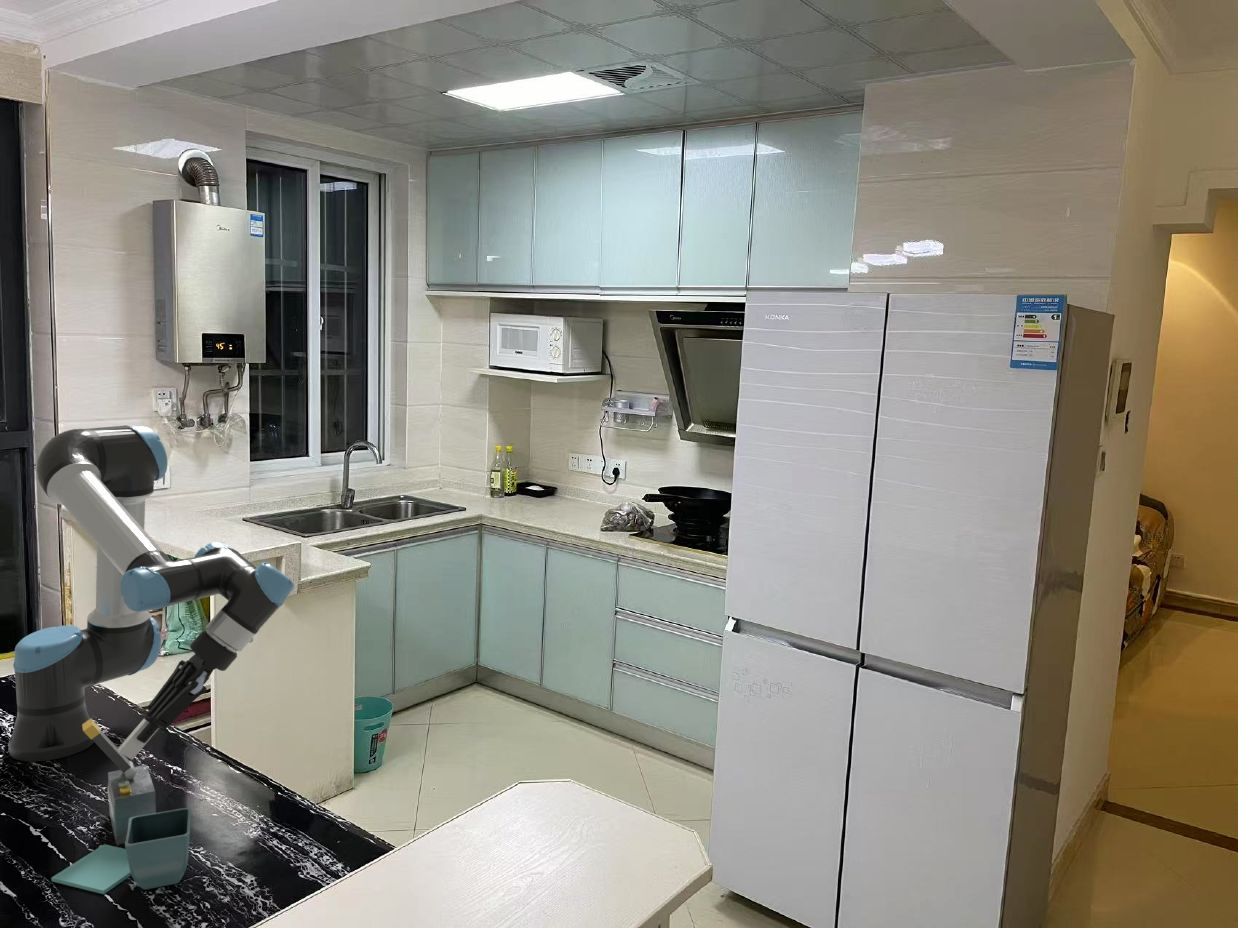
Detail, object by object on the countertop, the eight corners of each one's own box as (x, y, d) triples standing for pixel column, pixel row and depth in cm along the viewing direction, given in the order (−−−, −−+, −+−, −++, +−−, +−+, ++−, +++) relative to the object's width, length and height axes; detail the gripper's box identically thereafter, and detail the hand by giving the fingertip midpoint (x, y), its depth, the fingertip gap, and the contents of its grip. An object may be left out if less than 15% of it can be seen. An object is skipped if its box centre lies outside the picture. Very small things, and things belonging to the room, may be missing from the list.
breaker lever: (134, 765, 162) (90, 717, 157) (137, 774, 158) (92, 725, 153) (126, 771, 161) (81, 723, 156) (129, 781, 158) (83, 732, 153)
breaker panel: (148, 806, 165) (146, 760, 163) (156, 835, 156) (154, 786, 154) (108, 815, 161) (106, 768, 160) (115, 845, 152) (112, 795, 151)
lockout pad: (104, 847, 152) (104, 844, 152) (154, 859, 149) (154, 855, 149) (51, 881, 142) (51, 877, 142) (103, 894, 139) (103, 890, 139)
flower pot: (126, 901, 138) (124, 845, 137) (131, 869, 146) (129, 816, 145) (191, 888, 141) (189, 834, 140) (192, 858, 149) (190, 806, 148)
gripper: (247, 663, 161) (149, 780, 154) (230, 642, 171) (138, 750, 165) (212, 640, 157) (110, 759, 150) (197, 620, 168) (101, 729, 161)
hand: (125, 754), depth 157 cm, fingers closed
